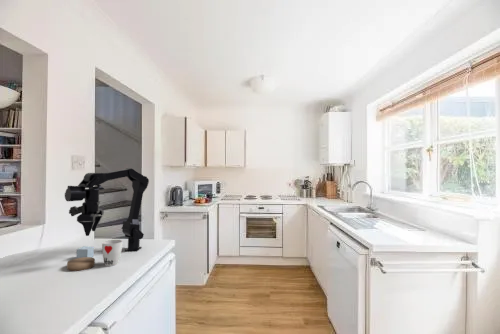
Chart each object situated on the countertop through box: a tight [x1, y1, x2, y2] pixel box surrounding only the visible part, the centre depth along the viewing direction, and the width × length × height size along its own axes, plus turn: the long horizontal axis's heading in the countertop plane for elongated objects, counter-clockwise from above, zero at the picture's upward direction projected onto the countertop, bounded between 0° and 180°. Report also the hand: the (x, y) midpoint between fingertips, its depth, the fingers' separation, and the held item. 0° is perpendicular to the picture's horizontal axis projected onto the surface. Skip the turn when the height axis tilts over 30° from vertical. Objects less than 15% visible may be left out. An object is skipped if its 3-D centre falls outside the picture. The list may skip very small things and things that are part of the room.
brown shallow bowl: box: [66, 257, 96, 272], centre depth 113 cm, size 10×10×2 cm
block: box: [75, 245, 95, 259], centre depth 124 cm, size 5×5×5 cm
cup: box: [101, 239, 123, 267], centre depth 118 cm, size 8×8×10 cm
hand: (90, 233), depth 122 cm, fingers open, 9 cm apart
